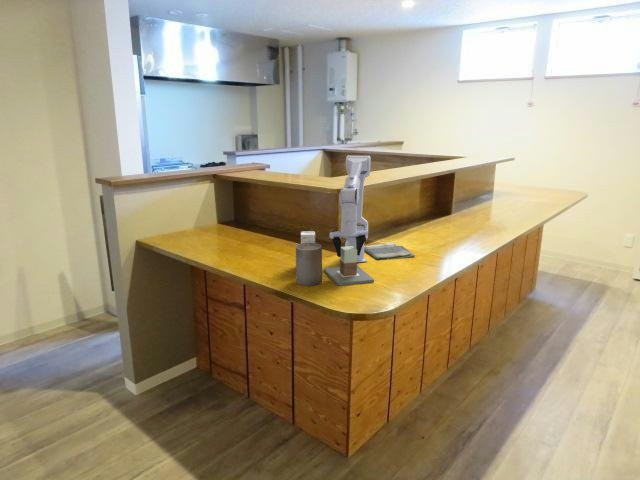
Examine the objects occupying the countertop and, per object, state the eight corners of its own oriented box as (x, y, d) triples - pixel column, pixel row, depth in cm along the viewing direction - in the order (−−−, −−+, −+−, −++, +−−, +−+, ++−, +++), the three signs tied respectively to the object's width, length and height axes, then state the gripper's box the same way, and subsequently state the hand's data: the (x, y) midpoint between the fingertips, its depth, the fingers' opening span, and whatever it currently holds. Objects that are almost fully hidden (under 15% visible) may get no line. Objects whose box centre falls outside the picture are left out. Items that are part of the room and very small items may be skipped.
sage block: (340, 259, 173) (340, 247, 172) (352, 258, 174) (352, 246, 173) (344, 263, 168) (344, 250, 167) (356, 262, 170) (357, 249, 169)
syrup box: (314, 264, 187) (314, 230, 183) (315, 269, 181) (315, 234, 177) (301, 264, 187) (300, 230, 183) (300, 269, 181) (300, 234, 177)
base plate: (323, 270, 180) (323, 267, 179) (357, 267, 183) (357, 265, 183) (337, 285, 163) (337, 282, 163) (374, 282, 166) (374, 279, 166)
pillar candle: (321, 277, 172) (321, 238, 168) (322, 285, 162) (322, 245, 159) (296, 277, 172) (295, 239, 168) (295, 286, 162) (294, 246, 158)
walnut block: (339, 272, 174) (340, 259, 173) (352, 270, 176) (352, 258, 174) (344, 276, 170) (344, 263, 168) (356, 274, 171) (357, 262, 170)
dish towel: (377, 261, 193) (377, 254, 192) (362, 250, 210) (362, 244, 209) (416, 258, 198) (416, 251, 197) (398, 247, 215) (399, 241, 214)
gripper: (333, 223, 162) (333, 259, 165) (371, 221, 166) (370, 256, 169) (328, 219, 169) (327, 254, 172) (364, 217, 172) (363, 251, 176)
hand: (348, 255), depth 171 cm, fingers open, 7 cm apart
